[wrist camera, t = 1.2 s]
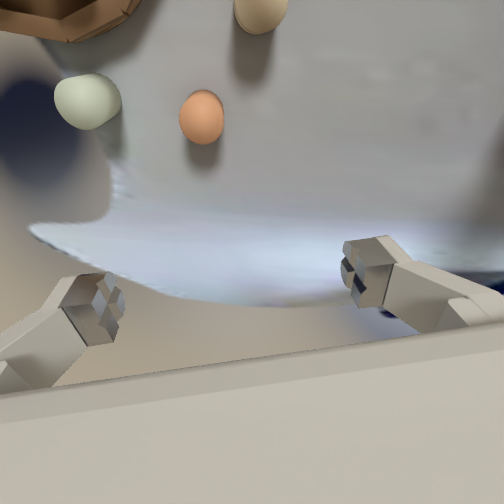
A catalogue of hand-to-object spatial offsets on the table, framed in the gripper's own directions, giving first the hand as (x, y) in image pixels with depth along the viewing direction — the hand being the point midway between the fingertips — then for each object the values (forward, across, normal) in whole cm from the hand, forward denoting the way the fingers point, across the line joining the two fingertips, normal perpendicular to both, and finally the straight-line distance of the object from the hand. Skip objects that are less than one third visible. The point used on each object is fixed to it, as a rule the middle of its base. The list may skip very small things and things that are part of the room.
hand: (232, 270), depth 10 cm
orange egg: (+25, +2, -1) cm, 25 cm away
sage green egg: (+26, +12, -4) cm, 28 cm away
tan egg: (+25, -4, -9) cm, 27 cm away
